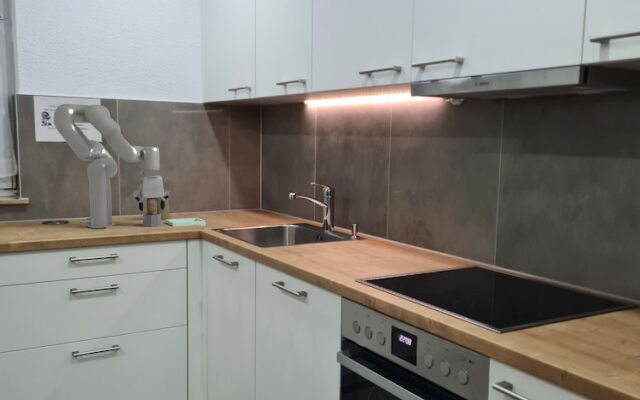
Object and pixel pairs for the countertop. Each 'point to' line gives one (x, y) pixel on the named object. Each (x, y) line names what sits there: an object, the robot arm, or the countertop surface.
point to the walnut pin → (151, 206)
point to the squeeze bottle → (166, 211)
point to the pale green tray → (186, 222)
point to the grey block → (152, 220)
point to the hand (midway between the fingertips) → (152, 210)
